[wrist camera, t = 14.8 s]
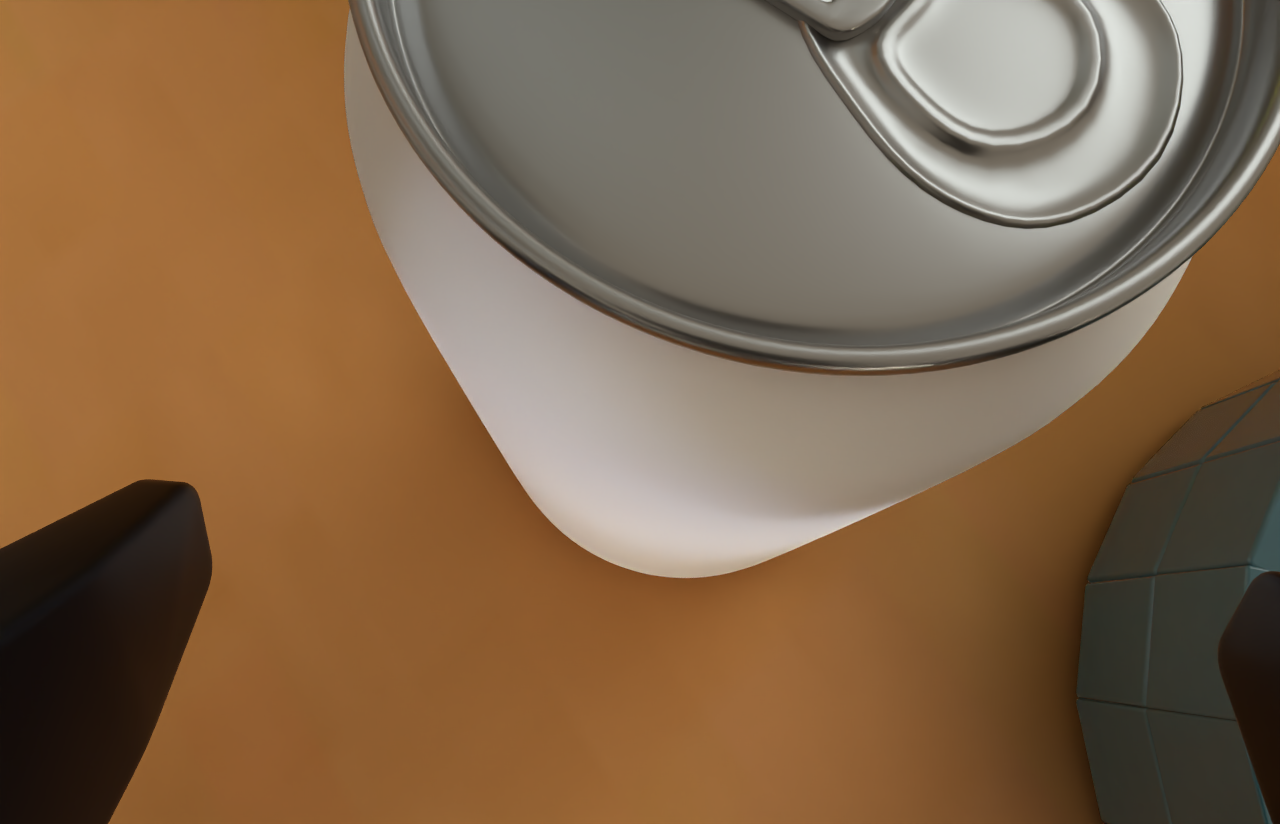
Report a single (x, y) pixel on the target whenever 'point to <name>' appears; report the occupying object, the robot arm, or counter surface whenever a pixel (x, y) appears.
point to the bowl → (1180, 619)
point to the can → (791, 234)
